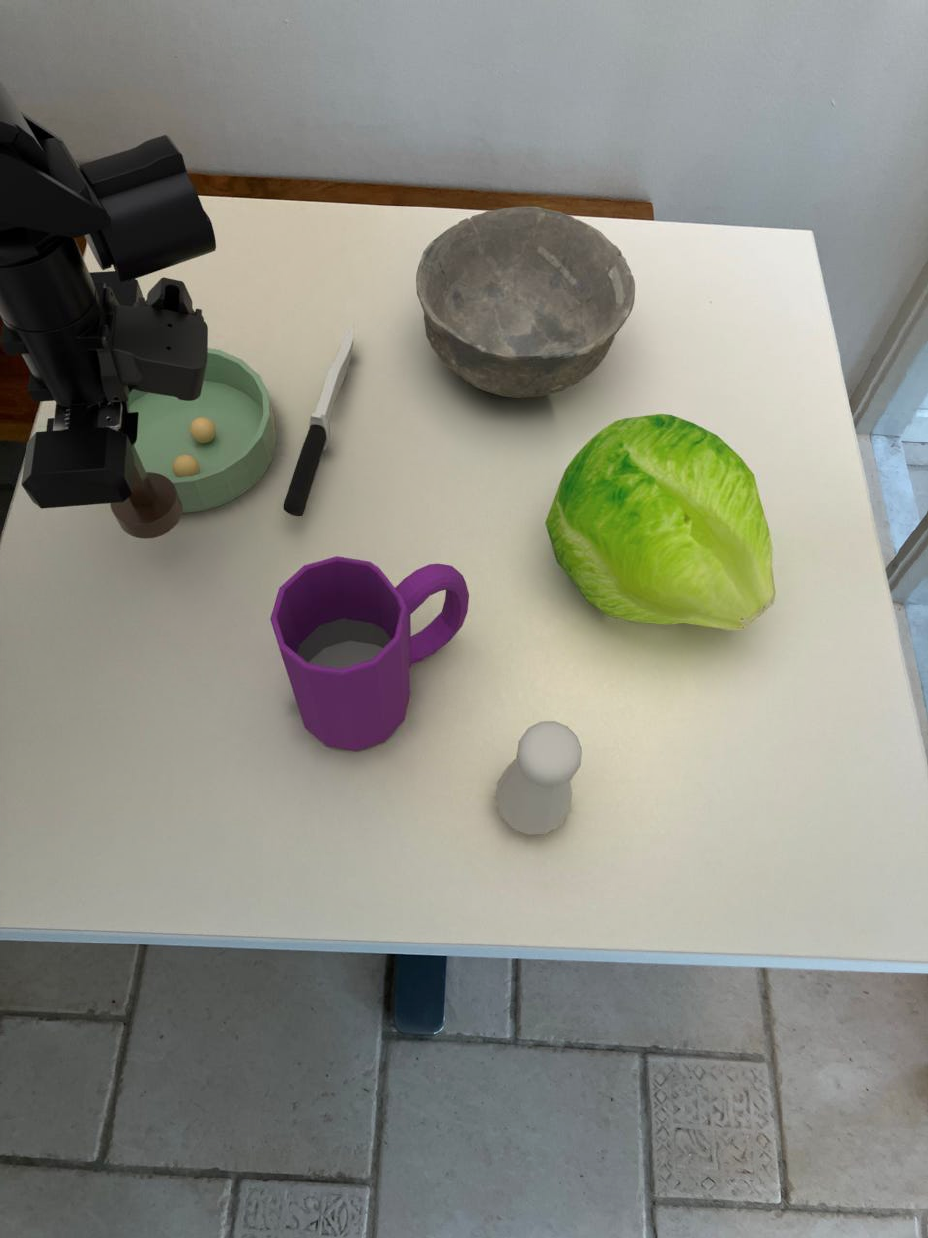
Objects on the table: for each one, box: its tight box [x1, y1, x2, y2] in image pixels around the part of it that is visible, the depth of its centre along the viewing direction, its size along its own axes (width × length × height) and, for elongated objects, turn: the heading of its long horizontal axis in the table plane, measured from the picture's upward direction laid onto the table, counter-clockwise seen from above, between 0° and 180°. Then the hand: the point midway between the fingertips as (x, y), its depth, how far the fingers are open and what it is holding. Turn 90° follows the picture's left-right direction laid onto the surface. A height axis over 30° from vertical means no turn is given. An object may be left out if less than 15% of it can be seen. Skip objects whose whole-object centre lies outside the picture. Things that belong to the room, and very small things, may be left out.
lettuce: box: [544, 413, 777, 631], centre depth 73 cm, size 17×20×15 cm
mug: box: [270, 555, 470, 752], centre depth 67 cm, size 9×16×15 cm, turn 126°
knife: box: [282, 322, 355, 517], centre depth 84 cm, size 25×2×5 cm, turn 171°
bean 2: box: [189, 417, 216, 443], centre depth 83 cm, size 2×2×2 cm
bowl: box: [415, 206, 636, 399], centre depth 87 cm, size 21×21×10 cm
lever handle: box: [109, 445, 183, 540], centre depth 68 cm, size 5×5×11 cm
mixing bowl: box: [129, 347, 277, 514], centre depth 82 cm, size 16×16×4 cm
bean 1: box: [172, 455, 200, 477], centre depth 81 cm, size 2×2×2 cm
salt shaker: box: [494, 720, 583, 836], centre depth 63 cm, size 6×6×13 cm
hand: (125, 461), depth 67 cm, fingers closed on lever handle
